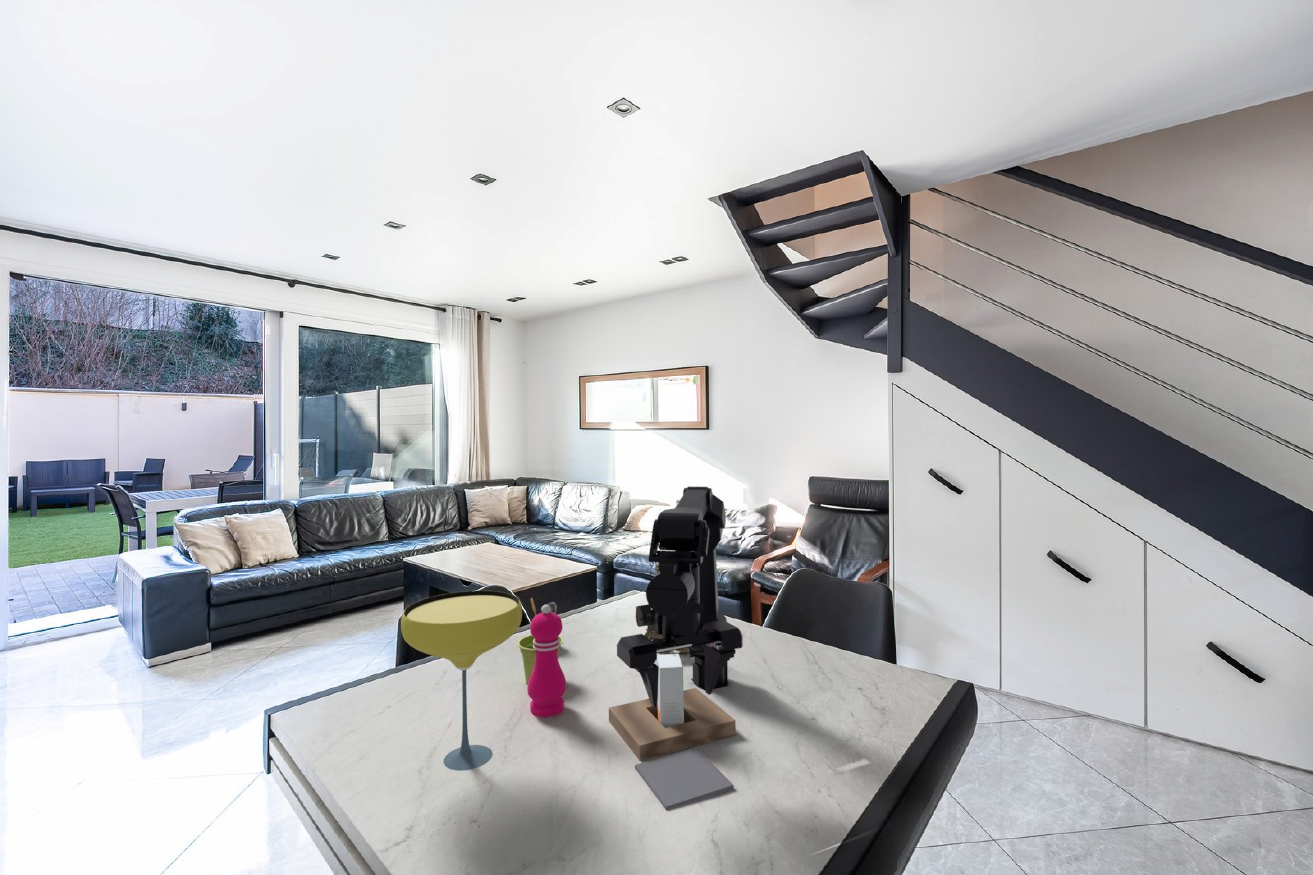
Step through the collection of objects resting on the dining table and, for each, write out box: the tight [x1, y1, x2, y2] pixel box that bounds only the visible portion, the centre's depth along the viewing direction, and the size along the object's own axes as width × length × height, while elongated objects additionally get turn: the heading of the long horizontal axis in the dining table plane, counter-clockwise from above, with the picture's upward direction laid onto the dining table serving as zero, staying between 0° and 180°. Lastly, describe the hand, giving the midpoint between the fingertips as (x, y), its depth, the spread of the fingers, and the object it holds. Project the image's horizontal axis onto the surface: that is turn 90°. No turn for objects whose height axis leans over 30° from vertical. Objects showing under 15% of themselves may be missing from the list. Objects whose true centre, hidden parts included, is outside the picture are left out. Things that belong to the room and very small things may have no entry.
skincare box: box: [656, 653, 684, 728], centre depth 100 cm, size 6×4×12 cm
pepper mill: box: [527, 604, 567, 718], centre depth 107 cm, size 7×7×20 cm
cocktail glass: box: [400, 590, 523, 772], centre depth 90 cm, size 18×18×25 cm
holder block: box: [608, 687, 737, 762], centre depth 100 cm, size 18×14×2 cm
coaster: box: [634, 747, 735, 811], centre depth 85 cm, size 11×11×1 cm
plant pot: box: [517, 634, 564, 685], centre depth 119 cm, size 9×9×9 cm
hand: (681, 699), depth 85 cm, fingers open, 9 cm apart
